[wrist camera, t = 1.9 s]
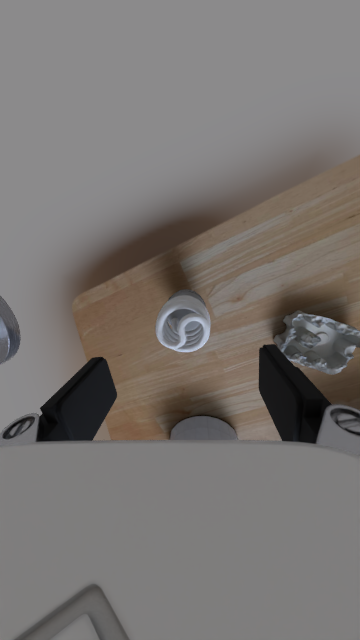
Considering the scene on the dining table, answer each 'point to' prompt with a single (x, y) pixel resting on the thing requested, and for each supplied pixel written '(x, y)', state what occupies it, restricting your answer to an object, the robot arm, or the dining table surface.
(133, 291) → the dining table surface
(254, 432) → the dining table surface
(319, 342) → the egg carton
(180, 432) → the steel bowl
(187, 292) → the light bulb
